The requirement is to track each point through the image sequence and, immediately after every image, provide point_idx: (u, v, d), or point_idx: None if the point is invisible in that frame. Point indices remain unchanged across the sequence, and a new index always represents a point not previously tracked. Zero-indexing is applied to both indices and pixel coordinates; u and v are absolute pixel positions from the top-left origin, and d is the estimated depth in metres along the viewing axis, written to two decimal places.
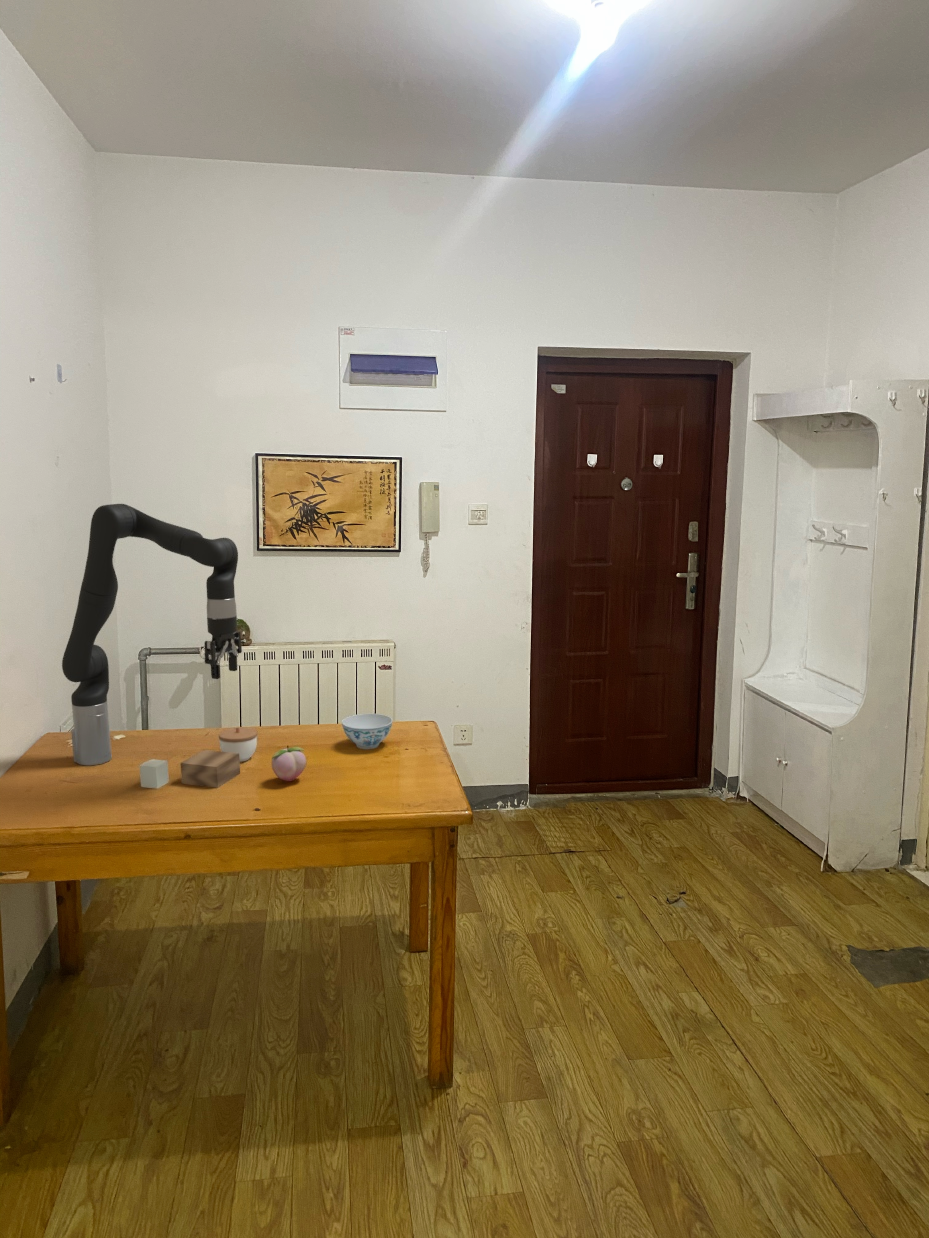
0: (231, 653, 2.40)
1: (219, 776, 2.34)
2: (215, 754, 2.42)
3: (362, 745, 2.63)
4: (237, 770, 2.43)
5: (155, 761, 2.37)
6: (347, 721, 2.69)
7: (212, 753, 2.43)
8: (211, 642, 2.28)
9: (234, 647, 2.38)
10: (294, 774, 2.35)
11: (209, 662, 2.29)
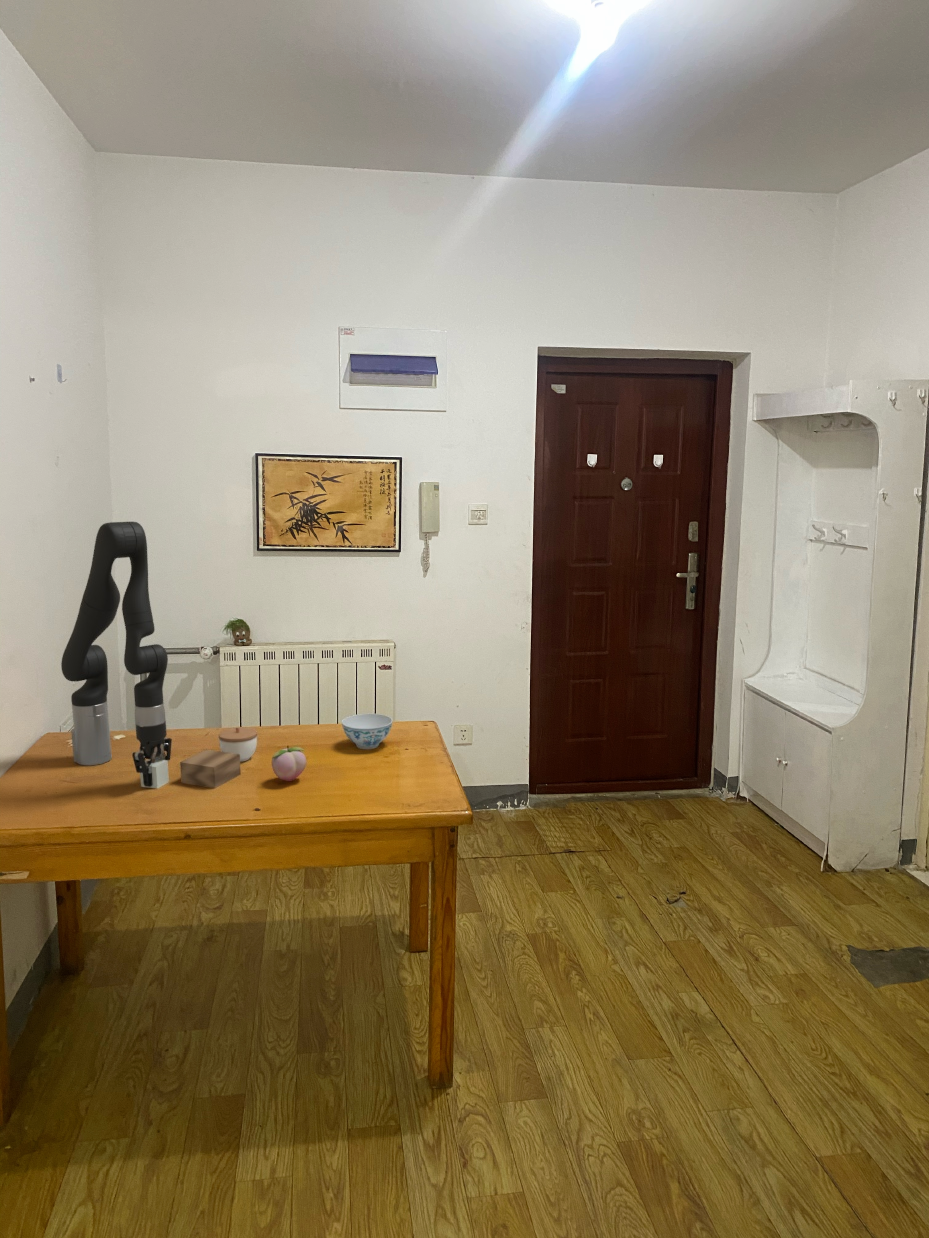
0: None
1: (217, 777, 2.34)
2: (215, 754, 2.42)
3: (362, 745, 2.63)
4: (238, 771, 2.42)
5: (155, 760, 2.37)
6: (347, 721, 2.69)
7: (214, 753, 2.43)
8: (138, 754, 2.28)
9: (163, 753, 2.37)
10: (294, 774, 2.35)
11: (140, 771, 2.30)
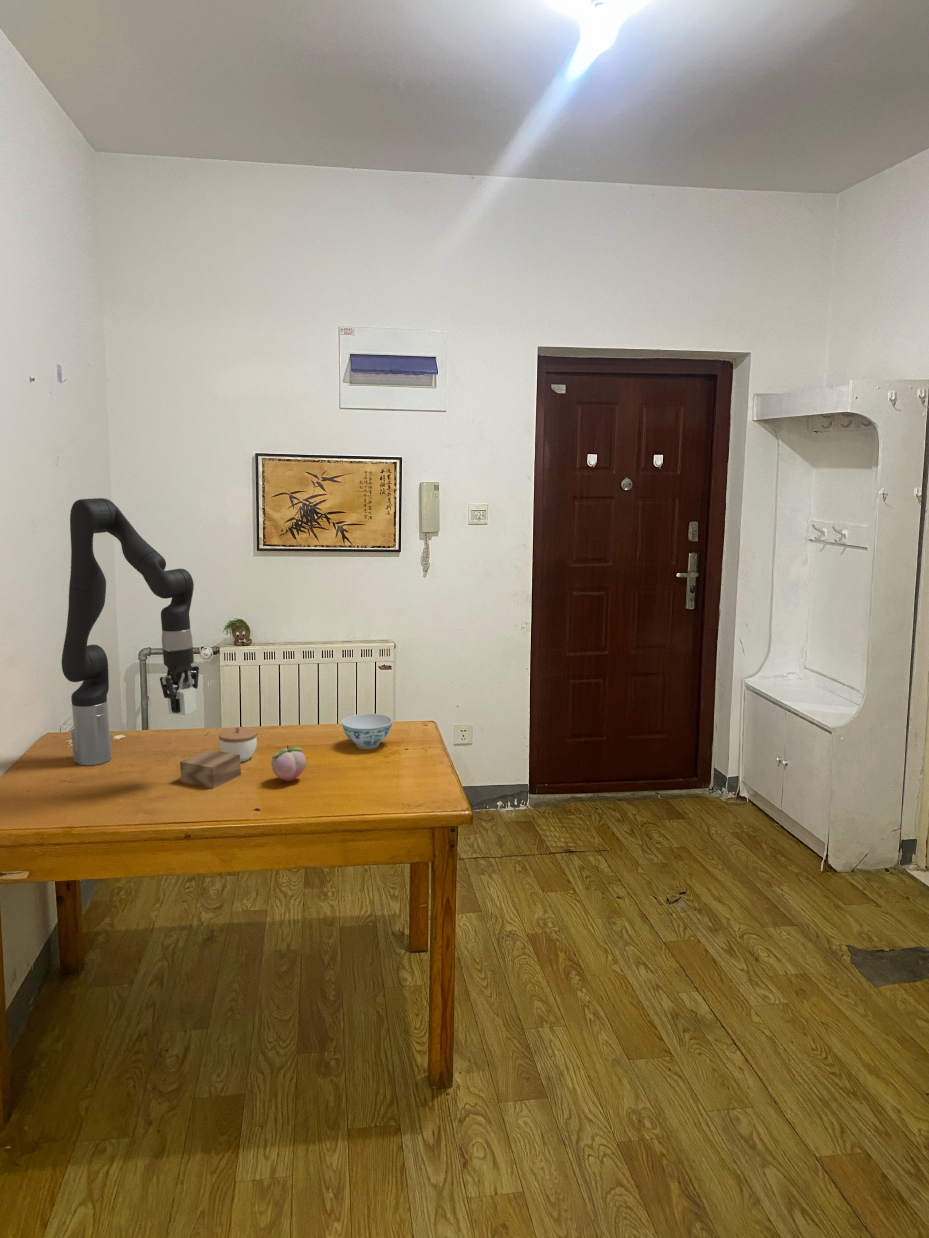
0: None
1: (215, 777, 2.34)
2: (216, 755, 2.42)
3: (362, 745, 2.63)
4: (238, 771, 2.42)
5: (183, 688, 2.35)
6: (347, 721, 2.69)
7: (214, 753, 2.43)
8: (166, 679, 2.26)
9: (190, 680, 2.35)
10: (294, 774, 2.35)
11: (168, 696, 2.28)
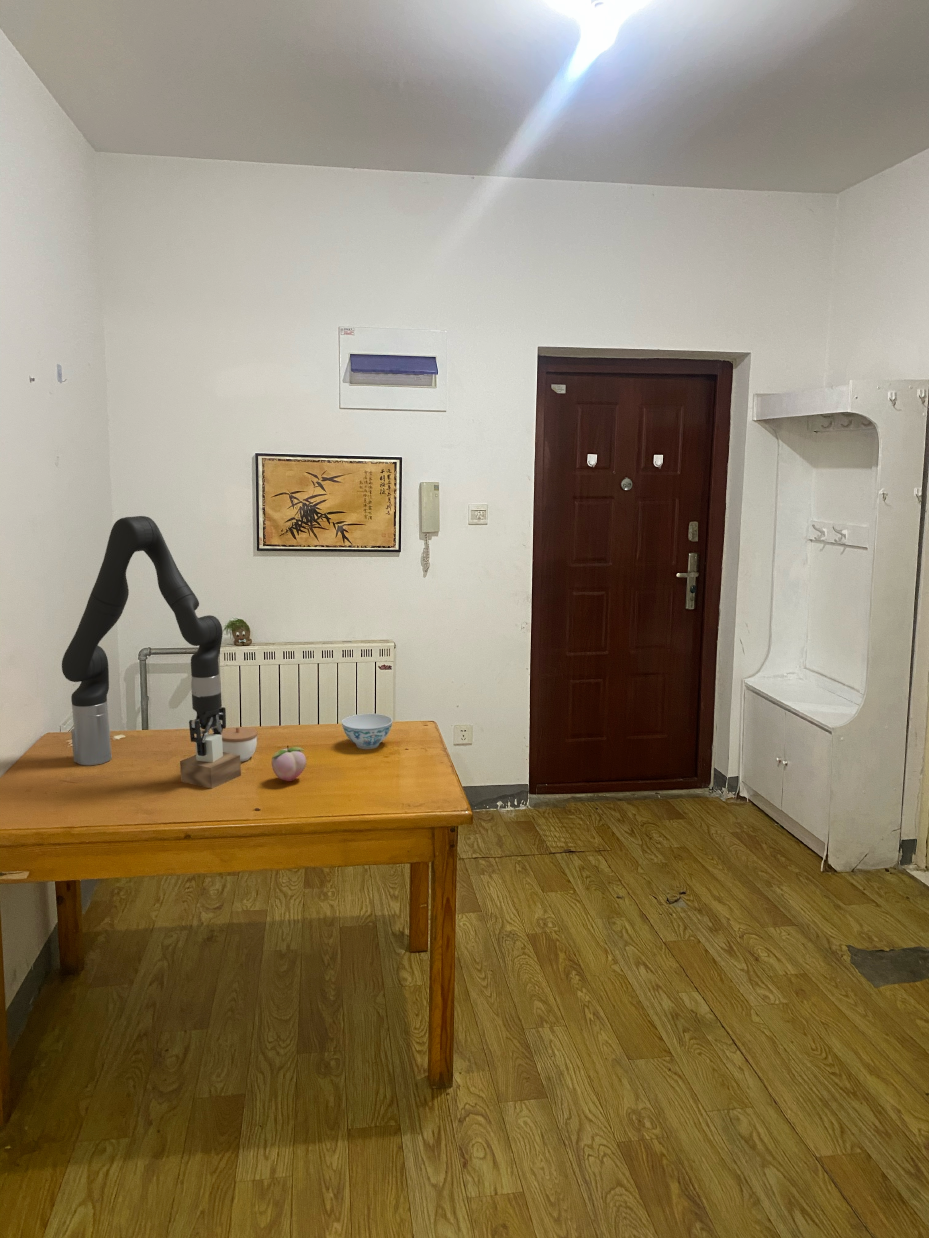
0: (215, 729, 2.42)
1: (213, 777, 2.34)
2: None
3: (362, 745, 2.63)
4: (238, 772, 2.42)
5: (210, 735, 2.40)
6: (347, 721, 2.69)
7: None
8: (195, 722, 2.31)
9: (218, 723, 2.40)
10: (294, 774, 2.35)
11: (195, 740, 2.32)
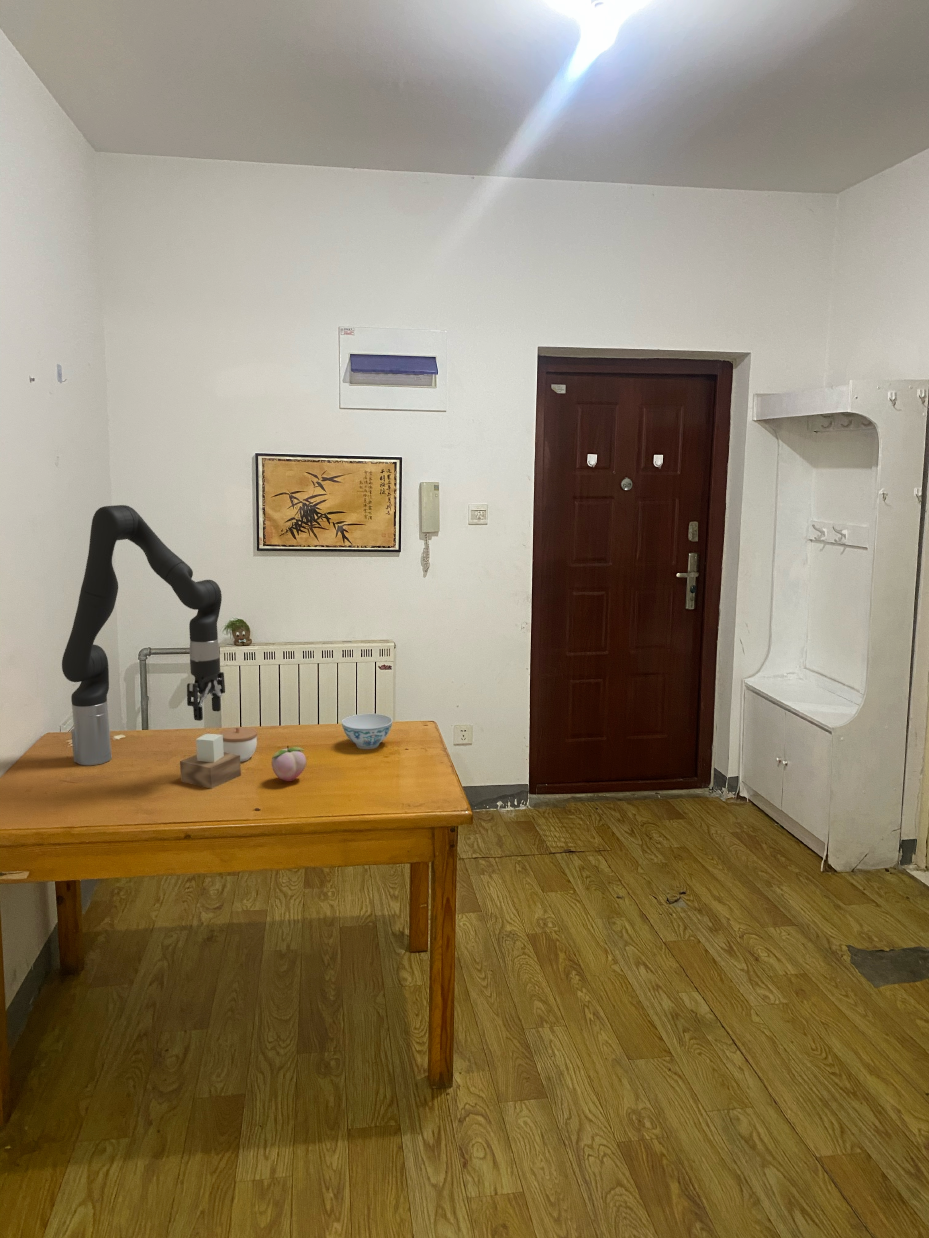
0: (214, 693, 2.41)
1: (213, 777, 2.34)
2: None
3: (362, 745, 2.63)
4: (238, 772, 2.42)
5: (211, 735, 2.40)
6: (347, 721, 2.69)
7: None
8: (193, 684, 2.29)
9: (217, 688, 2.38)
10: (294, 774, 2.35)
11: (191, 704, 2.30)
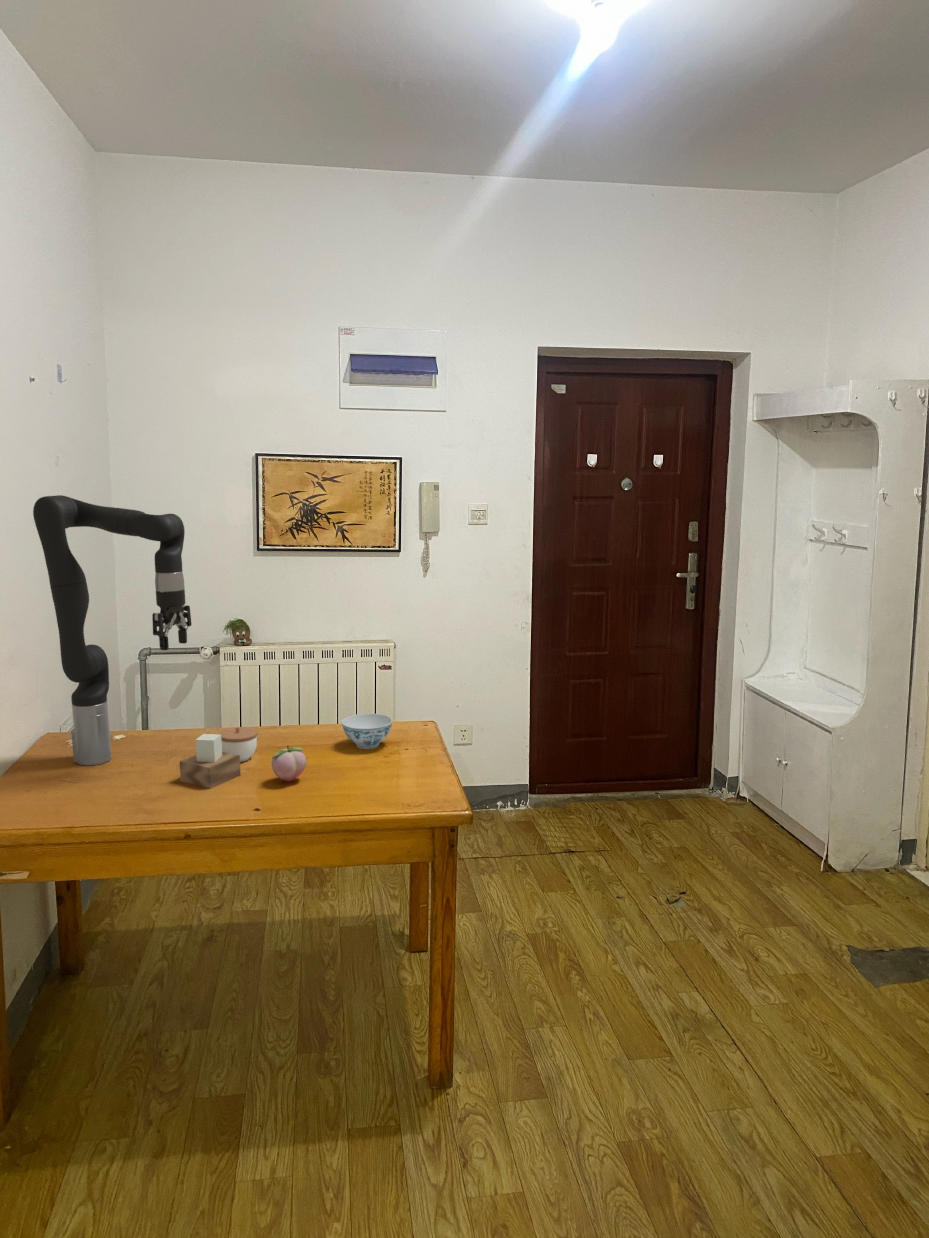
0: (181, 626, 2.48)
1: (213, 777, 2.34)
2: None
3: (362, 745, 2.63)
4: (237, 772, 2.42)
5: (209, 735, 2.40)
6: (347, 721, 2.69)
7: None
8: (159, 614, 2.37)
9: (183, 620, 2.46)
10: (294, 774, 2.35)
11: (157, 633, 2.37)
